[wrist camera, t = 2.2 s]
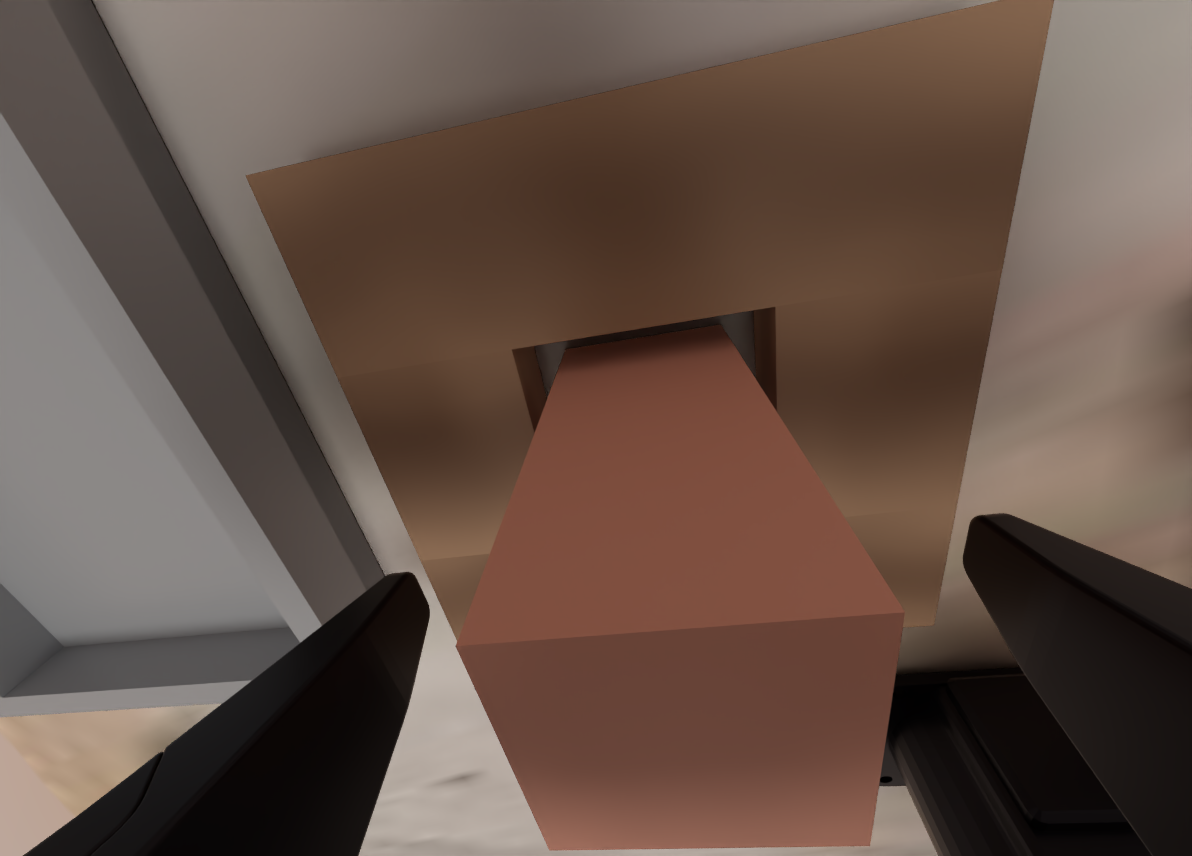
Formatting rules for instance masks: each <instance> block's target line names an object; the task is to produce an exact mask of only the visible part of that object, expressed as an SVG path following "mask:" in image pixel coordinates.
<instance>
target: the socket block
mask: <svg viewBox="0 0 1192 856" xmlns="http://www.w3.org/2000/svg"><path fill="white" fill-rule="evenodd" d="M1053 3H1054V0H999V1H995V2H991V3H987V4H982V5H978V6H974V7H969V8H965V9H961V10H956V11H952V12H948V13H943V14H939V15H935V16H931V17H926V18H922V19H918V20H913V21H909V22H905V23H900V24H896V25H892V26H887V27H883V28H879V29H875V30H870V31H866V32H862V33H857V34H853V35H849V36H844V37H840V38H836V39H832V40H827V41H823V42H819V43H814V44H810V45H806V46H801V47H797V48H793V49H788V50H784V51H780V52H776V53H771V54H767V55H763V56H758V57H754V58H750V59H745V60H741V61H737V62H732V63H728V64H724V65H720V66H715V67H711V68H707V69H702V70H698V71H694V72H689V73H685V74H681V75H677V76H672V77H668V78H664V79H659V80H655V81H651V82H646V83H642V84H638V85H633V86H629V87H625V88H621V89H616V90H612V91H608V92H603V93H599V94H595V95H590V96H586V97H582V98H577V99H573V100H569V101H565V102H560V103H556V104H552V105H547V106H543V107H539V108H534V109H530V110H526V111H521V112H517V113H513V114H509V115H504V116H500V117H496V118H491V119H487V120H483V121H478V122H474V123H470V124H466V125H461V126H457V127H453V128H448V129H444V130H440V131H435V132H431V133H427V134H422V135H418V136H414V137H410V138H405V139H401V140H397V141H392V142H388V143H384V144H379V145H375V146H371V147H366V148H362V149H358V150H354V151H349V152H345V153H341V154H336V155H332V156H328V157H323V158H319V159H315V160H311V161H306V162H302V163H298V164H293V165H289V166H285V167H280V168H276V169H272V170H267V171H263V172H259V173H255V174H250V175H246V178H247V180H248V182H249V185H250V187H251V189H252V191H253V193H254V196H255V198H256V200H257V202H258V204H259V207H260V209H261V211H262V213H263V215H264V218H265V220H266V222H267V224H268V226H269V228H270V231H271V233H272V235H273V237H274V239H275V242H276V244H277V246H278V248H279V250H280V253H281V255H282V257H283V259H284V261H285V264H286V266H287V268H288V270H289V272H290V275H291V277H292V279H293V281H294V283H295V286H296V288H297V290H298V292H299V294H300V297H301V299H302V301H303V303H304V305H305V308H306V310H307V312H308V314H309V316H310V319H311V321H312V323H313V325H314V327H315V330H316V332H317V334H318V336H319V338H320V341H321V343H322V345H323V347H324V349H325V352H326V354H327V356H328V358H329V360H330V363H331V365H332V367H333V369H334V371H335V374H336V376H337V378H338V380H339V382H340V384H341V387H342V389H343V391H344V393H345V395H346V398H347V400H348V402H349V404H350V406H351V409H352V411H353V413H354V415H355V417H356V420H357V422H358V424H359V426H360V428H361V431H362V433H363V435H364V437H365V439H366V442H367V444H368V446H369V448H370V450H371V453H372V455H373V457H374V459H375V461H376V464H377V466H378V468H379V470H380V472H381V475H382V477H383V479H384V481H385V483H386V486H387V488H388V490H389V492H390V494H391V497H392V499H393V501H394V503H395V505H396V508H397V510H398V512H399V514H400V516H401V519H402V521H403V523H404V525H405V527H406V530H407V532H408V534H409V536H410V538H411V540H412V543H413V545H414V547H415V549H416V551H417V554H418V556H419V558H420V560H421V562H422V565H423V567H424V569H425V571H426V573H427V576H428V578H429V580H430V582H431V584H432V587H433V589H434V591H435V593H436V595H437V598H438V600H439V602H440V604H441V606H442V609H443V611H444V613H445V615H446V617H447V620H448V622H449V624H450V626H451V628H452V631H453V633H454V635H455V637H456V639H457V641H458V639H459V636H460V633H461V631H462V628H463V625H464V622H465V620H466V617H467V614H468V612H469V609H470V606H471V603H472V601H473V598H474V595H475V593H476V590H477V587H478V585H479V582H480V579H481V576H482V574H483V571H484V568H485V566H486V563H487V560H488V558H489V555H490V552H491V549H492V547H493V544H494V541H495V539H496V536H497V533H498V531H499V528H500V525H501V522H502V520H503V517H504V514H505V512H506V509H507V506H508V504H509V501H510V498H511V495H512V493H513V490H514V487H515V485H516V482H517V479H518V477H519V474H520V471H521V468H522V466H523V463H524V460H525V458H526V455H527V452H528V449H529V447H530V444H531V441H532V439H533V436H534V433H535V431H536V428H537V425H538V422H539V420H540V417H541V414H542V412H543V409H544V406H545V404H546V401H547V397H546V393H545V389H544V385H543V381H542V377H541V373H540V369H539V365H538V361H537V357H536V353H535V349H534V346H536V345H543V344H549V343H555V342H561V341H567V340H573V339H579V338H586V337H592V336H598V335H604V334H610V333H616V332H622V331H629V330H635V329H641V328H647V327H653V326H659V325H666V324H672V323H678V322H684V321H690V320H696V319H702V318H709V317H715V316H721V315H727V314H733V313H739V312H746V311H752V310H754V337H755V366H756V380H757V382H758V383H759V385H760V386H761V388H762V390H763V391H764V393H765V394H766V396H767V397H768V399H769V400H770V402H771V404H772V405H773V407H774V408H775V410H776V411H777V413H778V415H779V416H780V418H781V419H782V421H783V422H784V424H785V425H786V427H787V429H788V430H789V432H790V433H791V435H792V436H793V438H794V439H795V441H796V443H797V444H798V446H799V447H800V449H801V450H802V452H803V454H804V455H805V457H806V458H807V460H808V461H809V463H810V464H811V466H812V468H813V469H814V471H815V472H816V474H817V475H818V477H819V478H820V480H821V482H822V483H823V485H824V486H825V488H826V489H827V491H828V493H829V494H830V496H831V497H832V499H833V500H834V502H835V503H836V505H837V507H838V508H839V510H840V511H841V513H842V514H843V516H844V517H845V519H846V521H847V522H848V524H849V525H850V527H851V528H852V530H853V532H854V533H855V535H856V536H857V538H858V539H859V541H860V542H861V544H862V546H863V547H864V549H865V550H866V552H867V553H868V555H869V557H870V558H871V560H872V561H873V563H874V564H875V566H876V567H877V569H878V571H879V572H880V574H881V575H882V577H883V578H884V580H885V581H886V583H887V585H888V586H889V588H890V589H891V591H892V592H893V594H894V596H895V597H896V599H897V600H898V602H899V603H900V605H901V606H902V608H903V610H904V611H905V617H904V623H903V628H904V627H918V626H932V625H934V622H935V617H936V612H937V606H938V601H939V596H940V591H941V585H942V580H943V575H944V570H945V565H946V559H947V554H948V549H949V544H950V539H951V533H952V528H953V523H954V518H955V513H956V507H957V502H958V497H959V492H960V487H961V481H962V476H963V471H964V466H965V461H966V455H967V450H968V445H969V440H970V435H971V429H972V424H973V419H974V414H975V409H976V403H977V398H978V393H979V388H980V383H981V377H982V372H983V367H984V362H985V356H986V351H987V346H988V341H989V336H990V330H991V325H992V320H993V315H994V310H995V304H996V299H997V294H998V289H999V284H1000V278H1001V273H1002V268H1003V263H1004V258H1005V252H1006V247H1007V242H1008V237H1009V232H1010V226H1011V221H1012V216H1013V211H1014V206H1015V200H1016V195H1017V190H1018V185H1019V180H1020V174H1021V169H1022V164H1023V159H1024V153H1025V148H1026V143H1027V138H1028V133H1029V127H1030V122H1031V117H1032V112H1033V107H1034V101H1035V96H1036V91H1037V86H1038V81H1039V75H1040V70H1041V65H1042V60H1043V55H1044V49H1045V44H1046V39H1047V34H1048V29H1049V23H1050V18H1051V13H1052V8H1053Z"/></svg>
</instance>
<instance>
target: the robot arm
mask: <svg viewBox="0 0 1192 856" xmlns="http://www.w3.org/2000/svg"><path fill="white" fill-rule="evenodd" d="M963 564H964V568H965V571H966V573H967V575H968V577H969V579H970V581H971V583H972V584H973V586H974V588H975V590H976V591H977V593H978V595H979V597H980V598H981V600H982V602H983V604H984V605H985V607H986V609H987V611H988V612H989V614H990V616H991V618H992V619H993V621H994V623H995V625H996V627H997V628H998V630H999V632H1000V634H1001V635H1002V637H1003V639H1004V641H1005V642H1006V644H1007V646H1008V648H1009V649H1010V651H1011V653H1012V655H1013V656H1014V658H1015V660H1016V661H1017V663H1018V665H1019V666H1020V668H1008V669H992V670H975V671H958V672H941V673H924V674H908V675H896V676H895V683H894V689H893V696H892V703H891V709H890V716H889V723H888V729H887V736H886V742H885V749H884V756H883V762H882V769H881V776H880V782H879V786H906V787H907V789H908V791H909V793H910V795H911V798H912V800H913V802H914V804H915V806H916V808H917V811H918V813H919V815H920V817H921V819H922V821H923V824H924V826H925V828H926V830H927V832H928V835H929V837H930V839H931V841H932V843H933V845H934V848H935V850H936V852H937V854H938V856H1192V589H1191V588H1188V587H1186V586H1183V585H1181V584H1178V583H1176V582H1173V581H1171V580H1169V579H1166V578H1164V577H1161V576H1159V575H1156V574H1154V573H1152V572H1149V571H1147V570H1144V569H1142V568H1139V567H1137V566H1134V565H1132V564H1130V563H1127V562H1125V561H1122V560H1120V559H1117V558H1115V557H1112V556H1110V555H1108V554H1105V553H1103V552H1100V551H1098V550H1095V549H1093V548H1090V547H1088V546H1086V545H1083V544H1081V543H1078V542H1076V541H1073V540H1071V539H1069V538H1066V537H1064V536H1061V535H1059V534H1056V533H1054V532H1051V531H1049V530H1047V529H1044V528H1042V527H1039V526H1037V525H1034V524H1032V523H1029V522H1027V521H1025V520H1022V519H1020V518H1017V517H1015V516H1012V515H1010V514H1005V513H999V514H988V515H979V516H976V517H974V518H973V519H972V520H971V522H970V525H969V530H968V535H967V539H966V544H965V549H964V554H963ZM429 617H430V609H429V605H428V602H427V600H426V598H425V596H424V594H423V591H422V589H421V587H420V585H419V583H418V581H417V579H416V577H415V575H414V574H412V573H410V572H402V573H392V574H388V575H386V576H385V577H384V578H382V579H381V580H380V581H378V582H377V583H376V584H375V585H373V586H372V587H371V588H369V589H368V590H367V591H366V592H364V593H363V594H362V595H361V596H359V597H358V598H357V599H355V600H354V601H353V602H352V603H350V604H349V605H348V606H346V607H345V608H344V609H343V610H341V611H340V612H339V613H338V614H336V615H335V616H334V617H332V618H331V619H330V620H329V621H327V622H326V623H325V624H323V625H322V626H321V627H320V628H318V629H317V630H316V631H314V632H313V633H312V634H311V635H309V636H308V637H307V638H306V639H304V640H303V641H302V642H300V643H299V644H298V645H297V646H295V647H294V648H293V649H291V650H290V651H289V652H288V653H286V654H285V655H284V656H282V657H281V658H280V659H279V660H277V661H276V662H275V663H274V664H272V665H271V666H270V667H268V668H267V669H266V670H265V671H263V672H262V673H261V674H259V675H258V676H257V677H256V678H254V679H253V680H252V681H251V682H249V683H248V684H247V685H245V686H244V687H243V688H242V689H240V690H239V691H238V692H236V693H235V694H234V695H233V696H231V697H230V698H229V699H227V700H226V701H225V702H224V703H222V704H221V705H220V706H219V707H217V708H216V709H215V710H213V711H212V712H211V713H210V714H208V715H207V716H206V717H204V718H203V719H202V720H201V721H199V722H198V723H197V724H195V725H194V726H193V727H192V728H190V729H189V730H188V731H187V732H185V733H184V734H183V735H181V736H180V737H179V738H178V739H176V740H175V741H174V742H172V743H171V744H170V745H169V746H167V747H166V749H165V751H164V752H160V753H158V754H157V755H156V756H154V757H153V758H152V759H151V760H149V761H148V762H147V763H145V764H144V765H143V766H142V767H140V768H139V769H138V770H137V771H135V772H134V773H133V774H131V775H130V776H129V777H128V778H126V779H125V780H124V781H122V782H121V783H120V784H118V785H117V786H116V787H115V788H113V789H112V790H111V791H109V792H108V793H107V794H105V795H104V796H103V797H101V798H100V799H99V800H98V801H96V802H95V803H94V804H92V805H91V806H90V807H88V808H87V809H86V810H84V811H83V812H82V813H81V814H79V815H78V816H77V817H75V818H74V819H72V820H71V821H70V822H69V823H67V824H66V825H65V826H63V827H62V828H60V829H59V830H57V831H56V832H55V833H53V834H52V835H51V836H49V837H48V838H47V839H45V840H44V841H43V842H41V843H40V844H38V845H37V846H36V847H34V848H33V849H32V850H30V851H29V852H27V853H26V854H25V855H23V856H358V855H359V852H360V849H361V846H362V843H363V840H364V837H365V834H366V831H367V828H368V825H369V822H370V819H371V817H372V814H373V811H374V808H375V805H376V802H377V799H378V796H379V793H380V790H381V787H382V784H383V781H384V778H385V775H386V772H387V769H388V766H389V763H390V760H391V757H392V754H393V751H394V748H395V745H396V743H397V740H398V737H399V734H400V731H401V728H402V725H403V722H404V719H405V715H406V712H407V709H408V706H409V702H410V698H411V695H412V691H413V686H414V682H415V678H416V674H417V669H418V665H419V661H420V657H421V652H422V648H423V644H424V640H425V635H426V631H427V627H428V622H429Z"/></svg>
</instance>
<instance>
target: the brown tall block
mask: <svg viewBox="0 0 1192 856" xmlns="http://www.w3.org/2000/svg"><path fill="white" fill-rule="evenodd" d="M904 617H905V611H904V610H903V608H902V606H901V605H900V603H899V602H898V600H897V599H896V597H895V596H894V594H893V592H892V591H891V589H890V588H889V586H888V585H887V583H886V581H885V580H884V578H883V577H882V575H881V574H880V572H879V571H878V569H877V567H876V566H875V564H874V563H873V561H872V560H871V558H870V557H869V555H868V553H867V552H866V550H865V549H864V547H863V546H862V544H861V542H860V541H859V539H858V538H857V536H856V535H855V533H854V532H853V530H852V528H851V527H850V525H849V524H848V522H847V521H846V519H845V517H844V516H843V514H842V513H841V511H840V510H839V508H838V507H837V505H836V503H835V502H834V500H833V499H832V497H831V496H830V494H829V493H828V491H827V489H826V488H825V486H824V485H823V483H822V482H821V480H820V478H819V477H818V475H817V474H816V472H815V471H814V469H813V468H812V466H811V464H810V463H809V461H808V460H807V458H806V457H805V455H804V454H803V452H802V450H801V449H800V447H799V446H798V444H797V443H796V441H795V439H794V438H793V436H792V435H791V433H790V432H789V430H788V429H787V427H786V425H785V424H784V422H783V421H782V419H781V418H780V416H779V415H778V413H777V411H776V410H775V408H774V407H773V405H772V404H771V402H770V400H769V399H768V397H767V396H766V394H765V393H764V391H763V390H762V388H761V386H760V385H759V383H758V382H757V380H756V379H755V377H754V375H753V374H752V372H751V371H750V369H749V368H748V366H747V365H746V363H745V361H744V360H743V358H742V357H741V355H740V354H739V352H738V351H737V349H736V347H735V346H734V344H733V343H732V341H731V340H730V338H729V336H728V335H727V333H726V332H725V330H724V329H723V327H722V326H721V325H714V326H708V327H702V328H696V329H689V330H683V331H677V332H671V333H664V334H658V335H652V336H646V337H639V338H633V339H627V340H621V341H614V342H608V343H602V344H596V345H589V346H583V347H577V348H571V349H565V352H564V355H563V358H562V360H561V363H560V366H559V368H558V371H557V374H556V377H555V379H554V382H553V385H552V387H551V390H550V393H549V395H548V398H547V401H546V404H545V406H544V409H543V412H542V414H541V417H540V420H539V422H538V425H537V428H536V431H535V433H534V436H533V439H532V441H531V444H530V447H529V449H528V452H527V455H526V458H525V460H524V463H523V466H522V468H521V471H520V474H519V477H518V479H517V482H516V485H515V487H514V490H513V493H512V495H511V498H510V501H509V504H508V506H507V509H506V512H505V514H504V517H503V520H502V522H501V525H500V528H499V531H498V533H497V536H496V539H495V541H494V544H493V547H492V549H491V552H490V555H489V558H488V560H487V563H486V566H485V568H484V571H483V574H482V576H481V579H480V582H479V585H478V587H477V590H476V593H475V595H474V598H473V601H472V603H471V606H470V609H469V612H468V614H467V617H466V620H465V622H464V625H463V628H462V631H461V633H460V636H459V639H458V641H457V644H456V648H457V650H458V652H459V655H460V657H461V659H462V661H463V663H464V665H465V668H466V670H467V672H468V674H469V676H470V678H471V681H472V683H473V685H474V687H475V689H476V691H477V694H478V696H479V698H480V700H481V702H482V705H483V707H484V709H485V711H486V713H487V715H488V718H489V720H490V722H491V724H492V726H493V728H494V731H495V733H496V735H497V737H498V739H499V741H500V744H501V746H502V748H503V750H504V752H505V755H506V757H507V759H508V761H509V763H510V765H511V768H512V770H513V772H514V774H515V776H516V778H517V781H518V783H519V785H520V787H521V789H522V791H523V794H524V796H525V798H526V800H527V802H528V804H529V807H530V809H531V811H532V813H533V815H534V818H535V820H536V822H537V824H538V826H539V828H540V831H541V833H542V835H543V837H544V839H545V841H546V844H547V846H548V848H549V850H611V849H683V848H754V847H826V846H870V842H871V835H872V829H873V822H874V815H875V809H876V802H877V795H878V789H879V782H880V776H881V769H882V762H883V756H884V749H885V742H886V736H887V729H888V723H889V716H890V709H891V703H892V696H893V689H894V683H895V676H896V670H897V663H898V656H899V650H900V643H901V636H902V630H903V623H904Z"/></svg>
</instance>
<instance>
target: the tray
mask: <svg viewBox="0 0 1192 856" xmlns="http://www.w3.org/2000/svg"><path fill="white" fill-rule="evenodd" d="M382 578H384V575H383V573H382V571H381V569H380V567H379V565H378V563H377V561H376V559H375V557H374V555H373V553H372V551H371V549H370V547H369V545H368V543H367V541H366V539H365V537H364V535H363V533H362V531H361V529H360V527H359V525H358V524H357V522H356V520H355V518H354V516H353V514H352V512H351V510H350V508H349V506H348V504H347V502H346V500H345V498H344V496H343V494H342V492H341V490H340V488H339V486H338V484H337V482H336V480H335V478H334V476H333V474H332V473H331V471H330V469H329V467H328V465H327V463H326V461H325V459H324V457H323V455H322V453H321V451H320V449H319V447H318V445H317V443H316V441H315V439H314V437H313V435H312V433H311V431H310V429H309V427H308V425H307V423H306V421H305V420H304V418H303V416H302V414H301V412H300V410H299V408H298V406H297V404H296V402H295V400H294V398H293V396H292V394H291V392H290V390H289V388H288V386H287V384H286V382H285V380H284V378H283V376H282V374H281V372H280V370H279V369H278V367H277V365H276V363H275V361H274V359H273V357H272V355H271V353H270V351H269V349H268V347H267V345H266V343H265V341H264V339H263V337H262V335H261V333H260V331H259V329H258V327H257V325H256V323H255V321H254V319H253V318H252V316H251V314H250V312H249V310H248V308H247V306H246V304H245V302H244V300H243V298H242V296H241V294H240V292H239V290H238V288H237V286H236V284H235V282H234V280H233V278H232V276H231V274H230V272H229V270H228V268H227V266H226V265H225V263H224V261H223V259H222V257H221V255H220V253H219V251H218V249H217V247H216V245H215V243H214V241H213V239H212V237H211V235H210V233H209V231H208V229H207V227H206V225H205V223H204V221H203V219H202V217H201V215H200V214H199V212H198V210H197V208H196V206H195V204H194V202H193V200H192V198H191V196H190V194H189V192H188V190H187V188H186V186H185V184H184V182H183V180H182V178H181V176H180V174H179V172H178V170H177V168H176V166H175V164H174V162H173V161H172V159H171V157H170V155H169V153H168V151H167V149H166V147H165V145H164V143H163V141H162V139H161V137H160V135H159V133H158V131H157V129H156V127H155V125H154V123H153V121H152V119H151V117H150V115H149V113H148V111H147V110H146V108H145V106H144V104H143V102H142V100H141V98H140V96H139V94H138V92H137V90H136V88H135V86H134V84H133V82H132V80H131V78H130V76H129V74H128V72H127V70H126V68H125V66H124V64H123V62H122V60H121V58H120V57H119V55H118V53H117V51H116V49H115V47H114V45H113V43H112V41H111V39H110V37H109V35H108V33H107V31H106V29H105V27H104V25H103V23H102V21H101V19H100V17H99V15H98V13H97V11H96V9H95V7H94V6H93V4H92V2H91V0H0V717H13V716H29V715H44V714H60V713H76V712H92V711H107V710H123V709H139V708H155V707H170V706H186V705H202V704H218V703H224V702H225V701H226V700H227V699H229V698H230V697H231V696H233V695H234V694H235V693H236V692H238V691H239V690H240V689H242V688H243V687H244V686H245V685H247V684H248V683H249V682H251V681H252V680H253V679H254V678H256V677H257V676H258V675H259V674H261V673H262V672H263V671H265V670H266V669H267V668H268V667H270V666H271V665H272V664H274V663H275V662H276V661H277V660H279V659H280V658H281V657H282V656H284V655H285V654H286V653H288V652H289V651H290V650H291V649H293V648H294V647H295V646H297V645H298V644H299V643H300V642H302V641H303V640H304V639H306V638H307V637H308V636H309V635H311V634H312V633H313V632H314V631H316V630H317V629H318V628H320V627H321V626H322V625H323V624H325V623H326V622H327V621H329V620H330V619H331V618H332V617H334V616H335V615H336V614H338V613H339V612H340V611H341V610H343V609H344V608H345V607H346V606H348V605H349V604H350V603H352V602H353V601H354V600H355V599H357V598H358V597H359V596H361V595H362V594H363V593H364V592H366V591H367V590H368V589H369V588H371V587H372V586H373V585H375V584H376V583H377V582H378V581H380V580H381V579H382Z"/></svg>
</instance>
